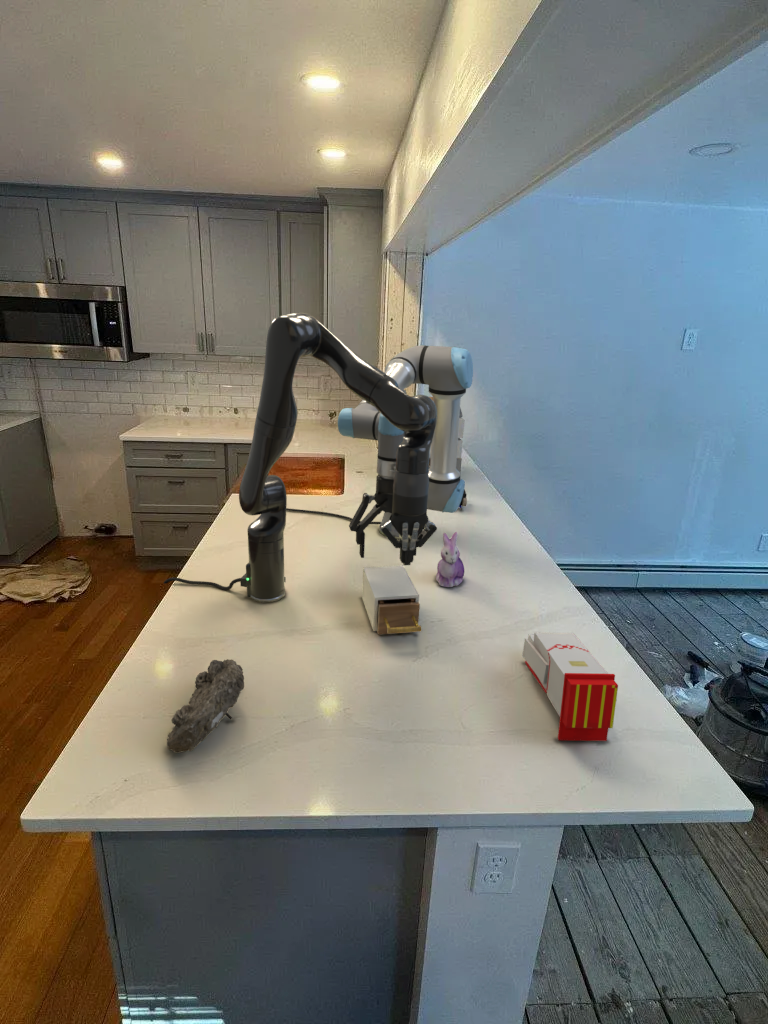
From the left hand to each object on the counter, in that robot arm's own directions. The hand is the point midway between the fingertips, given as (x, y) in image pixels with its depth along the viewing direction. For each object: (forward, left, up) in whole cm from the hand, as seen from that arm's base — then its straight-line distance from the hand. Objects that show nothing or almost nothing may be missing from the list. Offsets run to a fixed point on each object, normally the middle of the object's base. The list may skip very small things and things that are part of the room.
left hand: (406, 563), depth 127 cm
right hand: (-8, +17, -6) cm, 19 cm away
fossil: (-30, -35, -21) cm, 50 cm away
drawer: (-3, +8, -20) cm, 22 cm away
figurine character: (+3, +105, -21) cm, 107 cm away
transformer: (-19, +149, -21) cm, 151 cm away
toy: (+35, -10, -21) cm, 42 cm away
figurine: (+8, +36, -21) cm, 43 cm away
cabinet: (-6, +14, -21) cm, 26 cm away
